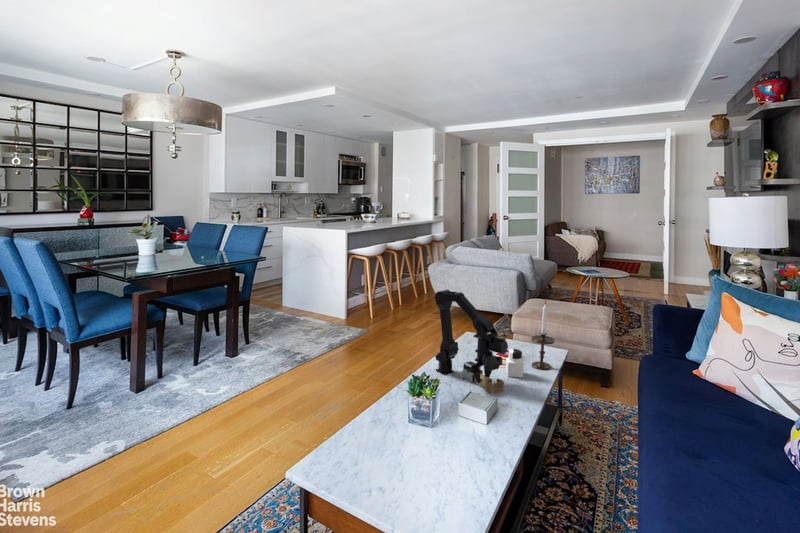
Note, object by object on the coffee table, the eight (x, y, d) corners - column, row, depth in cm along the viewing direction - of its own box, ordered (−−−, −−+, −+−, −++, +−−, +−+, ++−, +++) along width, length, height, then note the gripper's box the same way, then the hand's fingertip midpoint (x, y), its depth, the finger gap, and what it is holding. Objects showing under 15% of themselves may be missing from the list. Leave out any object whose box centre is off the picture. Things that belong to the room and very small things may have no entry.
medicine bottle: (520, 371, 211) (521, 348, 209) (523, 377, 204) (524, 353, 202) (505, 371, 212) (506, 347, 210) (507, 377, 205) (508, 352, 203)
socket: (486, 391, 189) (486, 381, 189) (497, 387, 193) (498, 378, 192) (491, 394, 186) (492, 384, 186) (503, 390, 190) (504, 381, 190)
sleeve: (462, 378, 202) (463, 368, 202) (473, 375, 206) (473, 365, 205) (471, 383, 197) (471, 373, 197) (482, 380, 201) (482, 370, 200)
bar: (465, 377, 203) (465, 371, 202) (472, 376, 205) (472, 369, 204) (485, 388, 192) (485, 381, 191) (492, 386, 194) (492, 379, 193)
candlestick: (555, 371, 213) (560, 300, 207) (533, 370, 213) (537, 300, 208) (548, 362, 223) (553, 295, 218) (527, 362, 224) (531, 295, 218)
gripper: (481, 358, 182) (479, 393, 184) (512, 350, 192) (510, 383, 194) (463, 350, 191) (462, 383, 194) (494, 343, 201) (492, 375, 204)
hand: (482, 381), depth 196 cm, fingers open, 5 cm apart
